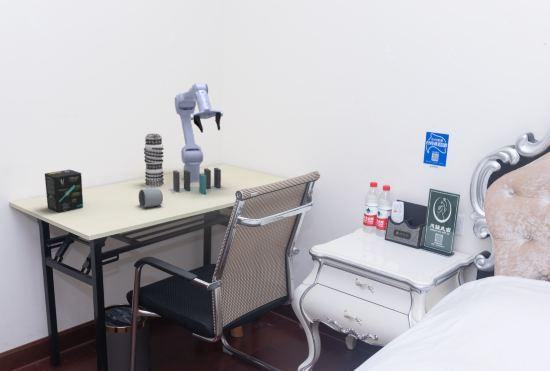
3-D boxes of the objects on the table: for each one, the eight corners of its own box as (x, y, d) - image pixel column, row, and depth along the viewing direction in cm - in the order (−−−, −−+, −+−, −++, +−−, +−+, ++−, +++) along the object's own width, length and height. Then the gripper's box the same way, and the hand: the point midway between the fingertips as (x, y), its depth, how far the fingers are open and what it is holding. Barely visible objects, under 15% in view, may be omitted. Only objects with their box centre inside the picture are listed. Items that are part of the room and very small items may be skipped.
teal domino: (202, 195, 237) (202, 176, 235) (199, 192, 241) (199, 173, 239) (206, 195, 238) (206, 175, 236) (202, 192, 242) (202, 173, 240)
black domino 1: (176, 192, 240) (176, 172, 237) (173, 189, 244) (173, 170, 242) (179, 191, 240) (179, 172, 238) (176, 189, 245) (176, 170, 242)
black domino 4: (217, 188, 248) (217, 170, 246) (214, 186, 253) (214, 167, 250) (220, 188, 249) (220, 169, 247) (217, 185, 253) (217, 167, 251)
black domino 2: (186, 191, 242) (186, 172, 240) (183, 188, 246) (183, 169, 244) (190, 190, 242) (190, 171, 240) (187, 188, 247) (186, 169, 245)
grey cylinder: (164, 207, 217) (163, 189, 215) (145, 209, 212) (144, 191, 211) (153, 201, 225) (153, 184, 224) (135, 204, 221) (134, 186, 219)
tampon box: (71, 203, 218) (69, 168, 215) (84, 207, 213) (82, 172, 209) (46, 208, 210) (43, 172, 207) (58, 213, 204) (55, 176, 201)
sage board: (167, 189, 244) (167, 189, 244) (220, 185, 256) (220, 184, 256) (172, 194, 237) (172, 193, 237) (226, 189, 249) (226, 188, 249)
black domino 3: (207, 189, 246) (207, 170, 244) (204, 186, 250) (204, 168, 248) (210, 189, 247) (210, 170, 245) (207, 186, 251) (207, 168, 249)
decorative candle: (166, 184, 255) (166, 133, 249) (161, 189, 246) (159, 136, 240) (148, 183, 255) (147, 132, 249) (142, 187, 246) (140, 135, 240)
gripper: (188, 102, 231) (194, 127, 225) (220, 98, 235) (227, 122, 229) (188, 111, 237) (194, 136, 231) (219, 108, 241) (226, 132, 236)
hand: (210, 130), depth 231 cm, fingers open, 7 cm apart
